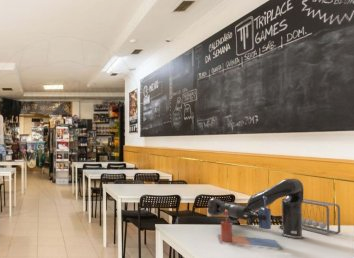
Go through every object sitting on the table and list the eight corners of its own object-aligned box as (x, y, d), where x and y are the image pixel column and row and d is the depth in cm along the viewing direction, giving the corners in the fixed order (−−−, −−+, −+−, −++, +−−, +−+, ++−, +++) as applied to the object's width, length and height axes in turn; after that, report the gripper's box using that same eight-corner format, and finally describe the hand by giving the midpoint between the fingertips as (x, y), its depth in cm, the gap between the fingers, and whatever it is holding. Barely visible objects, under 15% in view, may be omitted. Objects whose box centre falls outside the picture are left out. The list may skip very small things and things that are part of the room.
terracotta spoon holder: (220, 238, 185) (220, 208, 186) (231, 240, 184) (231, 208, 184) (221, 241, 180) (221, 209, 181) (232, 242, 178) (232, 210, 179)
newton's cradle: (340, 234, 201) (340, 204, 202) (328, 235, 198) (327, 205, 199) (293, 223, 230) (292, 196, 230) (281, 224, 226) (281, 197, 227)
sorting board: (218, 235, 195) (218, 234, 195) (274, 241, 185) (274, 239, 185) (220, 243, 180) (220, 241, 180) (281, 249, 170) (281, 248, 170)
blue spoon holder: (257, 226, 184) (257, 195, 184) (269, 227, 182) (269, 195, 182) (259, 228, 179) (259, 196, 179) (272, 229, 177) (271, 197, 177)
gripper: (247, 217, 196) (277, 223, 182) (231, 219, 189) (261, 226, 175) (247, 204, 197) (277, 209, 182) (231, 206, 190) (261, 212, 175)
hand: (269, 217), depth 178 cm, fingers closed on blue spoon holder, 5 cm apart
